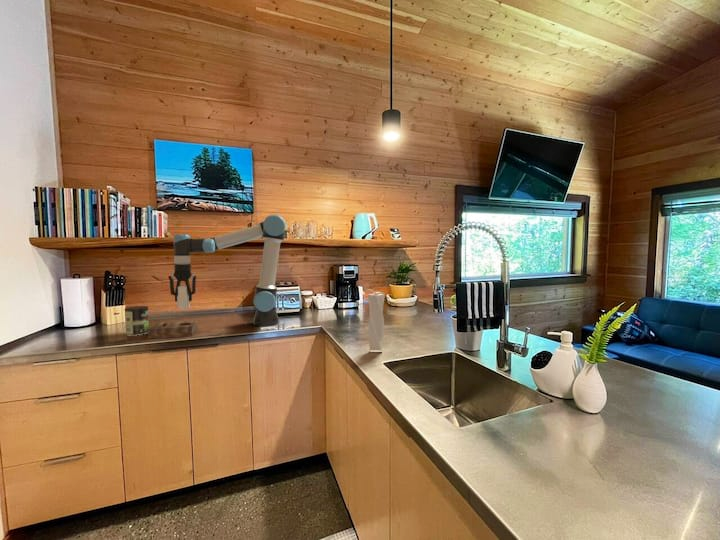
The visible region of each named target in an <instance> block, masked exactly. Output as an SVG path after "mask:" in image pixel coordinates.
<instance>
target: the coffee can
mask: <svg viewBox="0 0 720 540" xmlns="http://www.w3.org/2000/svg"><path fill="white" fill-rule="evenodd" d="M124 318H125V319H124V320H125V336H126V335H127V336H126V337H137V335H139V336H143V334H144V335H148V329H149V328H150V327H149V324H150V323H149V306H146V305H138V306H137V305H135V306H130V307H125V308H124Z"/></svg>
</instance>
